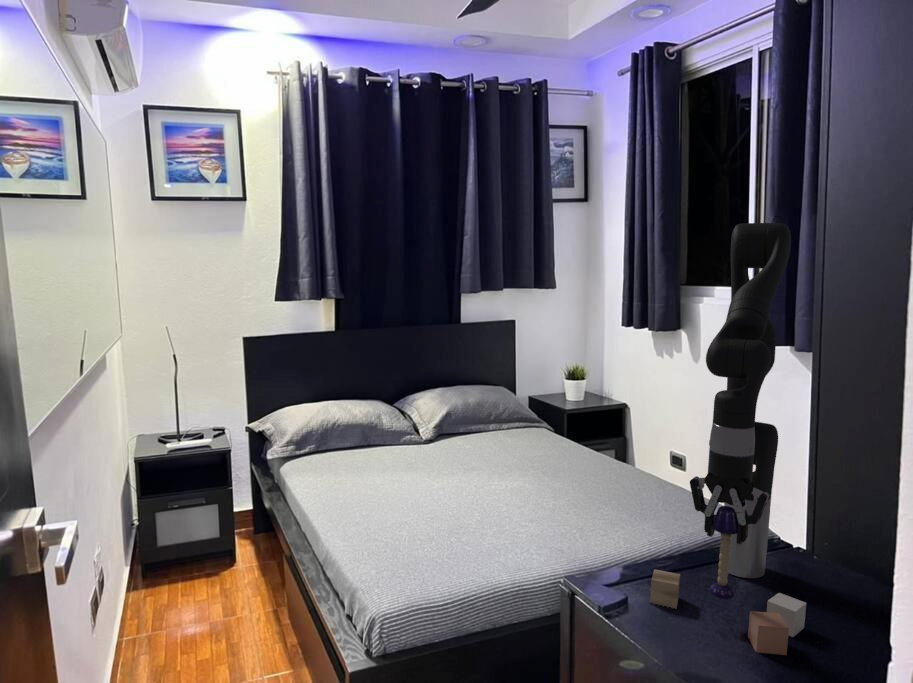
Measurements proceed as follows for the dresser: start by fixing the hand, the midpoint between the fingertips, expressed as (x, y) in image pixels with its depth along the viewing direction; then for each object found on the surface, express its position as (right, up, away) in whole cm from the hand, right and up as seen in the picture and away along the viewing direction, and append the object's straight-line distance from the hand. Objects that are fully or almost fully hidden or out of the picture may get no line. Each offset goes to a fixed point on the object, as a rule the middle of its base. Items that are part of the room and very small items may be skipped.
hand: (725, 538), depth 125 cm
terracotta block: (+5, -18, -5) cm, 19 cm away
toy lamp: (0, -11, +1) cm, 11 cm away
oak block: (-8, -15, +10) cm, 20 cm away
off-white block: (+12, -17, +1) cm, 21 cm away
